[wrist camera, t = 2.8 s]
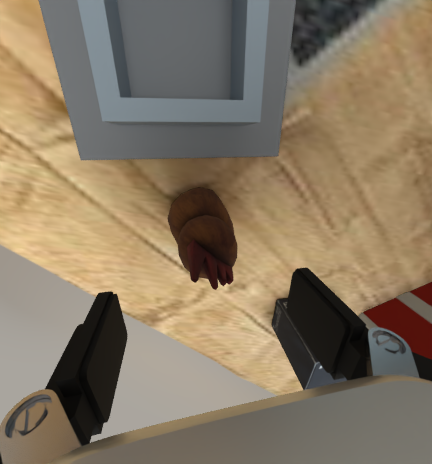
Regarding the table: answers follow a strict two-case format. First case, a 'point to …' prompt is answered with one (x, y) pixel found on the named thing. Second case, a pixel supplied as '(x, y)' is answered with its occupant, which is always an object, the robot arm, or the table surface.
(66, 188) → the table surface
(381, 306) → the red striped mailbox
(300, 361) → the small box
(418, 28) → the table surface
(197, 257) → the wooden figurine
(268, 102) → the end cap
